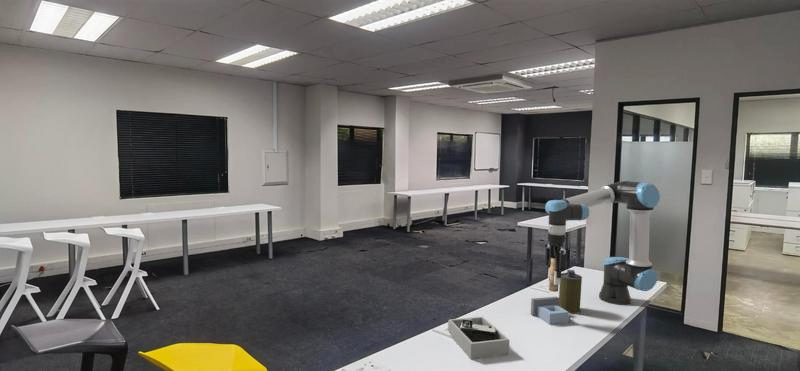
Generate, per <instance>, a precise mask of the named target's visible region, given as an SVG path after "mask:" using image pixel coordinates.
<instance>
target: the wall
mask: <svg viewBox="0 0 800 371" xmlns="http://www.w3.org/2000/svg"><path fill="white" fill-rule="evenodd" d="M530 300H531V301H530V316H532V317H538V316H537V306H542V305H553V304H556V305H557V306H559V296H548V297H547V296H545V297H535V298H530Z"/></svg>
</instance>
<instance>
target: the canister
mask: <svg viewBox="0 0 800 371" xmlns="http://www.w3.org/2000/svg"><path fill="white" fill-rule="evenodd" d="M582 281H583V276H582V275H580V274H576V272H575V270H574V269H567V271H566V272H561V278H560V285H559V288H558V293H559V294H558V298H559V307H561V308H563V309H564V310H566V311H568V312H569V314H572V315H573V314H578V313H580V312H581V300H582V298H581V296H582V283H583V282H582Z"/></svg>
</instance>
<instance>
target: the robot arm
mask: <svg viewBox="0 0 800 371" xmlns="http://www.w3.org/2000/svg"><path fill="white" fill-rule="evenodd" d="M660 199H661V195H660V191H659V189H658V188H657V187H656V185H654V184H652V183H649V182H645V181H644V182H643V181H629V180H623V181H618V182H613V183H609V184H606V185H603V186H601V187H600V189H595V190H592V191H588V192H585V193H580V194H577V195H575V196H570V197H567V198H563V199H553V200H552V199H551V200H548V201H547V202H546V203H545V206H544V209H545V212H546V213H547V214H548V226H547V227H548V230H547V232H548V234H547V241H548V243H547V244H545V245H544V247H545V260H544V261H545V266H547V269H548V271H547V274H548V275H547V282H548V283H549V281H550V265H551V258H555V262H556V270H555V275H554V285H558V286H560V278H561V273H562V272H564V271H565V270H566V261H567V260H566V258H567V254H568V250H567V249H565V248H564V245H563V244H564V243H565V242H566V231H567V230H566V228H567V221H585V220H586V219H587V220H588V218H589V216H590V209H589V208H591V207H594V206H595V207H596V206H598V205H602V204H609V205H610V204H614V203H617V204H619V203H620V204H625V205H626V210H627V211H628V212H629V240H628V241H629V243H628V244H629V248H628V252H629V253H628V257H623V256H609V257H606V258H605V259H604V265H603V284H602V286H601V289H600V291H599V294H598V298H599V299H600V300H601V301H603V302H607V303H610V304H615V305H629V304H631V295H630V292H629V288H628V287H630V288H632V289H635V290H637V291H642V292H648V291H650V290H652V289H653V288H654V287H655V286H656V284H657V282H658V279H659V278H658V273H657V272H656V270H655V269H653V263H652V262H651V261H650V259H649V256H650V220H651V219H650V218H651V216H650V215H651V213H652V212H653V211H654V208H655V207H657V206H658V204H659V202H660Z"/></svg>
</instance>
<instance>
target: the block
mask: <svg viewBox="0 0 800 371" xmlns="http://www.w3.org/2000/svg"><path fill="white" fill-rule="evenodd" d="M569 316H570V313H569V312H568V311H566V310H564V309H563V308H561V307H559V306H557V305H556V304H553V305H542V306H537V316H536V317H538V318H539V319H540V320H542V321H543V322H545V323H546V324H548V325H559V324H567V323H569V319H570V318H569Z"/></svg>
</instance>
